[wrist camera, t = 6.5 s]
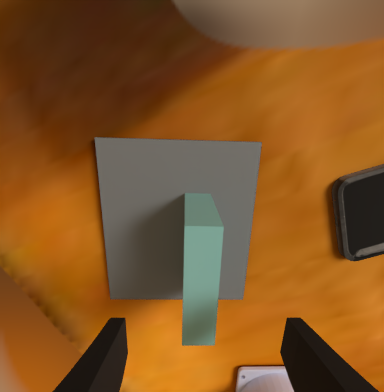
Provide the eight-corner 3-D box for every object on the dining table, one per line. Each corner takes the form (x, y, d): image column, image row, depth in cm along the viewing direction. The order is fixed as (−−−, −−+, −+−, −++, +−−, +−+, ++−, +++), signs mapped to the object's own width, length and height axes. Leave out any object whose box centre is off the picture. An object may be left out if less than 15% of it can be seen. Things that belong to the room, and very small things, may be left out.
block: (205, 280, 19) (214, 345, 13) (183, 280, 19) (182, 345, 13) (210, 193, 17) (223, 226, 11) (184, 193, 17) (184, 226, 11)
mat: (241, 294, 20) (243, 299, 20) (112, 294, 20) (110, 299, 19) (259, 142, 16) (261, 142, 16) (97, 137, 16) (94, 137, 15)
